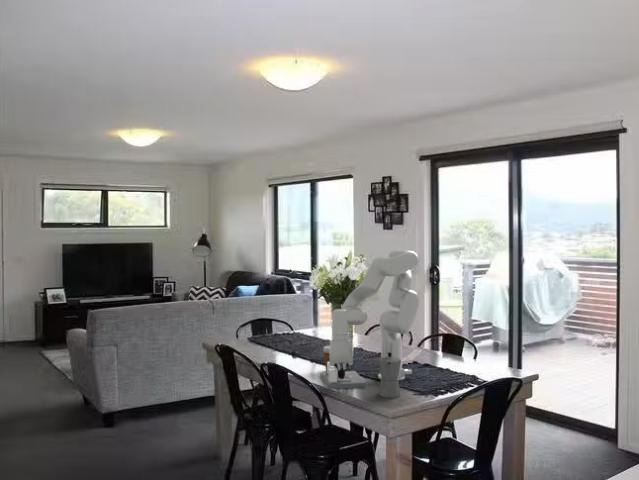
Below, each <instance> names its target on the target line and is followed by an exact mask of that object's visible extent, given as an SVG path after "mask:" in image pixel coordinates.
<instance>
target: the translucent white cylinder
mask: <svg viewBox="0 0 639 480" xmlns="http://www.w3.org/2000/svg"><path fill="white" fill-rule="evenodd" d="M422 352H423V350H419V349H413V350H411V352H409V354H408V355H407V356H406V357H402V366H404V365H403V364H406V365H409V364H408V363H411V364H413V361H414V360H415V359H416V358H417V357H418V356H419V355H420V354H421V353H422Z"/></svg>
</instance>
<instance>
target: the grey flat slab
mask: <svg viewBox="0 0 639 480" xmlns="http://www.w3.org/2000/svg"><path fill="white" fill-rule="evenodd" d="M319 376H320V377H319V378H321V380H322V382H323V384H324V385H325V386H326V389H328V390H333V389H337V390H338V389H359V388H366V387H367V383H366V381H365V380H364V379H363V378H362V376H360V374H359V373H358V372H357V371H356V370H348V371H347V370H345V377H344V379H340V378H339V377H338V378H337V382H331V383H330V381H329V374H328V373H327V372H326V371H322V372H321V371H320V372H319Z"/></svg>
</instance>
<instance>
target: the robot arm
mask: <svg viewBox="0 0 639 480" xmlns="http://www.w3.org/2000/svg"><path fill="white" fill-rule="evenodd" d="M387 256H388V257H384V256H378V257H375V258H374V259H373V260H372V261H371V263H370V265H369V267H368V269H367V270H366V273H365V275H364V276H363V279H362V281H361V282H360V284H359V285H358V286H357V287H356V288H355V289H354V290H352V291H351V292H350V293H349V294H348V295H347V297H346V298H345V301H344V302H343V304H342V307H341V308H337V309H333V311H332V312H331V315H332V316H331V320H332V321H331V323H332V325H331V326H332V330H331V331H332V335H331V338H332V339H331V340H330V341H329V345H330V349H329V360H330V362H329V365H330V366H335V367H336V368H337V369H338V377H339V378H340V379H344V377H345V371H346V369H347V368H348V367H349V366H352V365H354V354H353V344H352V341H351V338H353V334H352V333H350V326H361V325H362V326H363V325H364V324H365V323H366V322H367V320H368V314H367V312H366V311H365V310H364V309H363V308H360V307H359V306H360V305H361V303H362V302H364V301H365V300H366V299H368V298H371V297H373V296H375V295H376V294H377V293H378V292H379V290H380V288H381V286H382V285H383V282H384V280H385V278H386V277H393V281H392V284H391V288H390V292H389V295H388V301H387V302H388V304H389V305H390V307H392V308H394V309H399V310H398V311H396V310H392V309H389V310H385V311H382V312H381V314H380V316H379V328H380V335H381V336H380V337H381V338H380V339H381V340H380V341H381V347H380V348H381V350H380V353H381V354H380V356H381V357H380V358H383V357H388V353H389V352H390V353H392V354H391V355H392V357H395V358H399V359H400V360H401V363H400V370H399V375H398V381H404V380H405V379H406V375H412V374H413V370H412V369H407V368H406V369H404V368H403V367H402V366H403V365H402V358H403V339H402V335H406V334H408V333H409V332H410V331H412V329H413V327H414V324H415V320H416V317H417V314H418V309H419V306H420V298H419V296H418V293H417V292H416V291H414V290H411V286H412V282H413V277H412V276H413V275H412V270H413V269H415V268H416V267H417V266H418V263H419V257H418V256H419V255H418V254H417V253H416V252H415V251H412V250H402V249H394V250H392V251H390V252H389V253H388V255H387ZM341 364H342V365H341ZM377 378H378V379H379V380H381V379H382V375H381V373H379V374H377Z"/></svg>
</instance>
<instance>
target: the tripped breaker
mask: <svg viewBox="0 0 639 480" xmlns="http://www.w3.org/2000/svg"><path fill="white" fill-rule="evenodd" d="M329 381H330V383H331V382H337V370H336V369H329Z"/></svg>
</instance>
